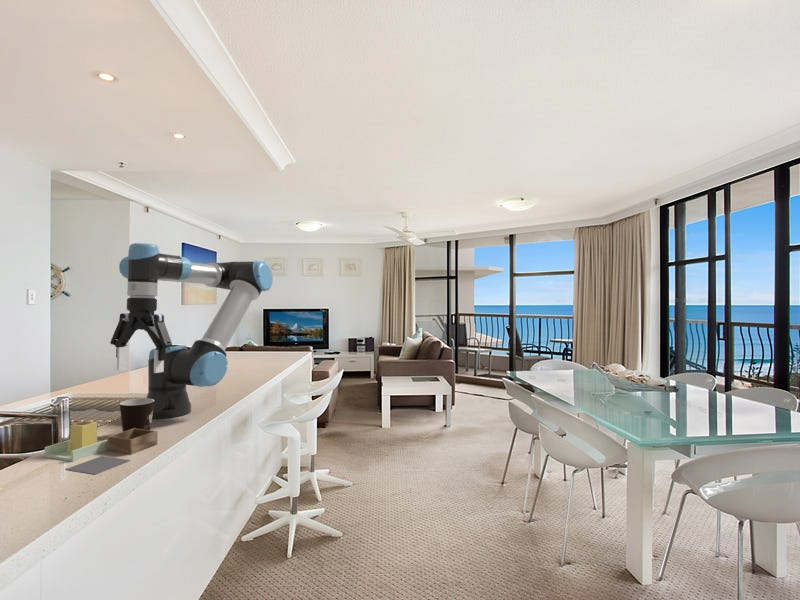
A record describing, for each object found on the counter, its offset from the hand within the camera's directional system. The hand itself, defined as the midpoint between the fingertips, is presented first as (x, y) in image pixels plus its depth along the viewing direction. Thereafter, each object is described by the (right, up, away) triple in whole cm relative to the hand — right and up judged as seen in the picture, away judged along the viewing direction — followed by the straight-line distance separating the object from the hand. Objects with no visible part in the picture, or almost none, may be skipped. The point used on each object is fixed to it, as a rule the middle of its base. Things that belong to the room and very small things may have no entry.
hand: (140, 370), depth 126 cm
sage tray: (-6, -19, -14) cm, 24 cm away
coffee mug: (0, -19, +1) cm, 19 cm away
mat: (+4, -19, -23) cm, 30 cm away
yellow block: (-6, -18, -14) cm, 24 cm away
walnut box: (+4, -19, -11) cm, 22 cm away
